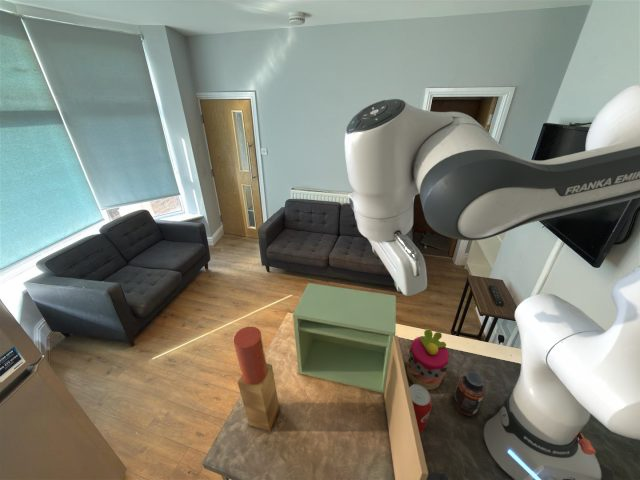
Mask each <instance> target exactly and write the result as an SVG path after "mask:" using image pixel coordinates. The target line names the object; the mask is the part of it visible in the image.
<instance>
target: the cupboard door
mask: <svg viewBox="0 0 640 480" xmlns="http://www.w3.org/2000/svg"><path fill="white" fill-rule="evenodd" d="M409 387H410V386H409V381H408V375H407V370H406V367H405V363H404V358H403V354H402V349H401V344H400V341H399V335H396V334H395V335H393V341H392V348H391V355H390V361H389V368H388V374H387V381H386V388H385V393H383V394H384V395H383V397H384V404H385V412H386V418H387V428H388V437H389V442H390V443H389V444H390V450H391V457H392V465H393V472H394V480H450V478H449V477H448V475H447V474H446V473H443V472H435V471H429V470H428V466H427V462H426V457H425V452H424V448H423V443H422V439H421V433H419V429H418V425H417V420H416V416H415V411H414V407H413V402H412V398H411V393H410V389H409Z"/></svg>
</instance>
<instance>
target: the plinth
mask: <svg viewBox="0 0 640 480" xmlns="http://www.w3.org/2000/svg"><path fill="white" fill-rule="evenodd" d="M266 364H267V370H268V371H267V375H266V377H265V378H264V379H263V380H262V381H261V382H259V383H257V384H248V383H246V382H245V381H244V380H243V377H242V373H240V376H239V378H238V379H237V386H238V390H239V393H240V397H241V400H242V404H243V407H244V411H245V416H246V420H247V423H248V426H252V427H255V428H258V429H262V430H266V431H269V432H271V431H272V428H273V425H274V422H275V419H276V417H277V415H278V412H279V409H280V404H279V397H278V392H277V386H276V380H275V375H274V369H273V364H272V363H267V362H266Z"/></svg>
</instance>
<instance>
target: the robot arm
mask: <svg viewBox="0 0 640 480" xmlns="http://www.w3.org/2000/svg"><path fill="white" fill-rule="evenodd" d="M587 131H588V132H587V135H586V139H585V150H584V151H579V152H575V153H571V154H567V155H562V156H558V157H554V158H549V159H545V160H535V159H529V158H526V157H523V156H520V155H517V154H516V153H513V152H512V151H509V150H507V149H506V148H504V146H502V145H501V144H500V142H498V141H497V140H496V139H495V138H494V137H493V136H492V135H491V134H490V133H489V132H488V131H487V130H486V129H485V127H484V126H482V125H481V124H480V122H478V121H477V120H476V119H475V118H473V117H472V116H470V115H469V114H467V113H465V112H462V111H457V110H449V111H432V110H426V109H422V108H419V107H416V106H413V105H411V104H410V103H407V102H406V101H405V100H403V99H400V98H392V99H391V98H390V99H383V100H380V101H377V102H374V103H372V104H369V105H368V106H365V107H363V108H362V109H360V110H359V112H357V113H356V114H355V115H354V116H353V117H352V118H351V119H350V121H349V123H348V124H347V126H346V129H345V133H344V157H345V166H346V172H347V173H346V174H347V179H348V182H349V185H350V187H351V189H352V192H350V193H348V194H347V200H348V203H349V205H350V208H351V209H352V211H353V213H354V218H355V221H356V226H357V230H358V232H359V233H360V234H361V235H362V236H363V237H364V238H366V239H367V240H368V241H369V243H370V245H371V248H372V252H373V254H374V255H375V257H379V259H380V261H381V262H382V264H383V265H384V267H385V269H386V270H387V271H388V273H389V274H390V276H391V278H392V280H393V285H394V287H395V288H396V290H397V292H399V293H402V295H404V296H406V297H411V296H415V295H417V294H419V293H422V292H424V291H425V290H426V289H427V287H428V275H427V265H426V261H425V258H424V256H423V253H422V252H421V250H420V249H419V248H418V247H417V246H416V244H415V243H414V242H413V241H412V240H411V239H410V237H409V236H408V235H407V234H408V233H409V232H410V231H411V230H412V228H413V226H414V199H415V197H416V196H417V195H419V199H420V203H421V207H422V211H423V216H424V220H425V221H426V223H427V225H428V226H429V227H430V228H431V229H432V230H433V231H434V232H436V233H437V234H439V235H441V236H444V237H446V238H450V239H454V240H460V241H481V240H486V239H489V238H493V237H497V236H499V235H501V234H505V233H506V232H509V231H512V230H514V229H517V228H519V227H522V226H524V225H525V226H526V225H529V224H532V223H534V222H540V221H544V220H548V219H553V218H557V217H561V216H562V217H563V216H567V215H570V214H575V213H580V212H583V211H588V210H593V209H597V208H601V207H606V206H609V205H614V204H620V203H622V202H623V203H624V202H627V201H631V200H634V199H638V198H640V82H638V83H635V84H633V85H630V86H627V87H626V88H624V89H623V90H621V91H620V92H618V93H617V94H616V95H615V96H613V97H612V98H611V99H610V100H608V101H607V103H605V105H604V106H603V107H601V109H600V110H599V111H598V113H597V114H596V115H595V117H594V118H593V120H592V123H591V124H590V126H589V129H588V130H587ZM610 296H611V300H612V303H613V304H614V307H615V309H616V315H615V319H614V322H613V323H612V325H611V326H610V327H609V328H608V329H607V330H606V329H604V328H603V327H602V326H601V325H600V324H599V323H598V322H596V321H595V320H594V319H593V318H591V317H590V316H589V315H588V314H586V313H585V312H584V311H583V310H582V309H580V308H579V307H578V306H575V305H574V304H572V303H571V302H569V301H568V300H566V299H564V298H562V297H560V296H558V295H555V294H552V293H538V294H533V295H531V296H528V297H526V298H524V299H523V300H522V301H521V302H520V303H519V304H517V307H516V309H515V311H514V320H515V323H516V325H517V329H518V332H519V338H520V339H519V340H520V373H519V376H518V379H517V381H516V383H515V386H514V388H513V390H511V391H510V392H509V393H508V394H507V396H506V398H505V400H504V401H503V403H502V405H501V408H500V409H499V411H498V412H497V413H496V414H495V415H494V416H493V417H491V418H489V419H488V420H487V421H486V422H485V424H484V427H483V439H484V442H485V445H486V447H487V450H488V452H489V453H490V456H491V457H492V458H493V460H494V461H495V463H497V465H498V466H499V467H500V468H501V469H502V470H503V471H504V472H505V473H506V474H507V475H508V476H510V477H511V478H512V479H513V480H614V476H613V470H611V469H609V468H608V467H606V466H604V465H602V464H600V463H599V460H598V458H597V456H596V453H597V451H596V450H595V448H594V447H593V445H592V442H591V440H590V439H587V438H586V437H585V436H584V434H583V428H584V427H585V426H586V425H587V423H588V422H589V421H590V418H591V415H592V417H594V418H595V419H596V420H597V421H598V422H600V423H601V424H602V425H603V426H604V427H605V428H607V430H609V431H610V432H611V433H614V434H616V435H618V436H621V437H625V438H627V439H628V438H629V439H633V440H639V441H640V265H639V266H637V267H636V268H634V269H633V270H631V271H630V272H628V273H627V274H625V275H623V276H622V277H621V278H620V279H618V280H617V281H615V282H614V283H613V285H612V286H611V290H610Z"/></svg>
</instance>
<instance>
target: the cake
mask: <svg viewBox="0 0 640 480" xmlns="http://www.w3.org/2000/svg"><path fill="white" fill-rule="evenodd" d="M442 337H443V335H442V332H440V331H437V332H435V333H434V334H433V331H432V329H430V328H426V329H424V331H423V335H421V336H417V337H415V338H414V339H413V340H412V341H411V344H410V348H409V351H408V352H409V356H408V359H406V362H407V366H406V375H407V377H408V378H409V380H410V381H411V382H412V383H413V385H415V384H417V385H421V386H423V387H424V388H426V389H427V391H428V390H435V389H437V388H439V386H440V384H441V383H442V380H443V379H444V377H445V375H446V373H447V367H446V366H447V365H448V363H449V360H450V354H449V351H448V349H447V347H446V346H447V343H446V342H445V341H440V340H441V339H442Z"/></svg>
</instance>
